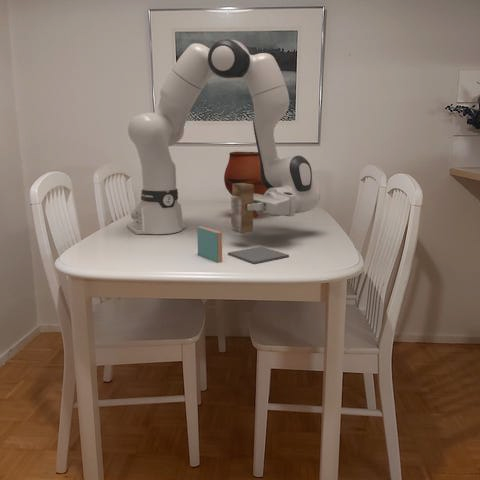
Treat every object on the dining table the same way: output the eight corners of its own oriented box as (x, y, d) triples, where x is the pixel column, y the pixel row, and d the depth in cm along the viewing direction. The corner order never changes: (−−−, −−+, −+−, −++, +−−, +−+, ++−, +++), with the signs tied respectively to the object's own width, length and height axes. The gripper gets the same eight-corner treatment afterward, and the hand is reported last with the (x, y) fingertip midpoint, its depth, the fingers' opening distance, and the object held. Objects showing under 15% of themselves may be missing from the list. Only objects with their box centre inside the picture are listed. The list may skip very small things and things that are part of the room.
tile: (197, 254, 138) (197, 226, 136) (202, 254, 138) (201, 226, 137) (217, 262, 130) (217, 233, 128) (222, 261, 131) (221, 232, 129)
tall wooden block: (230, 230, 148) (230, 183, 144) (242, 228, 150) (243, 182, 147) (240, 233, 144) (240, 185, 140) (252, 231, 146) (253, 184, 143)
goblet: (256, 222, 182) (257, 154, 176) (214, 217, 192) (213, 152, 186) (280, 214, 198) (281, 151, 192) (239, 210, 208) (239, 150, 202)
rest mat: (227, 254, 137) (227, 252, 137) (261, 248, 144) (261, 246, 144) (254, 264, 128) (254, 262, 128) (288, 257, 135) (288, 254, 135)
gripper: (256, 187, 160) (220, 190, 152) (299, 195, 144) (261, 199, 136) (255, 206, 162) (220, 210, 154) (298, 217, 146) (261, 222, 138)
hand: (240, 205), depth 145 cm, fingers closed on tall wooden block, 5 cm apart
